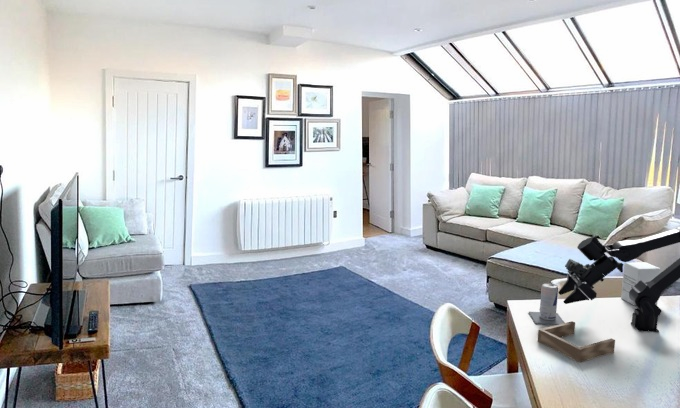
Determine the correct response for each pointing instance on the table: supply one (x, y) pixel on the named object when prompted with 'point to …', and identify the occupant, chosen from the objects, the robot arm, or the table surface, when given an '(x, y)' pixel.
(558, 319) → the mat
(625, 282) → the supplement box
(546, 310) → the energy drink
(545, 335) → the bay
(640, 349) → the table surface
